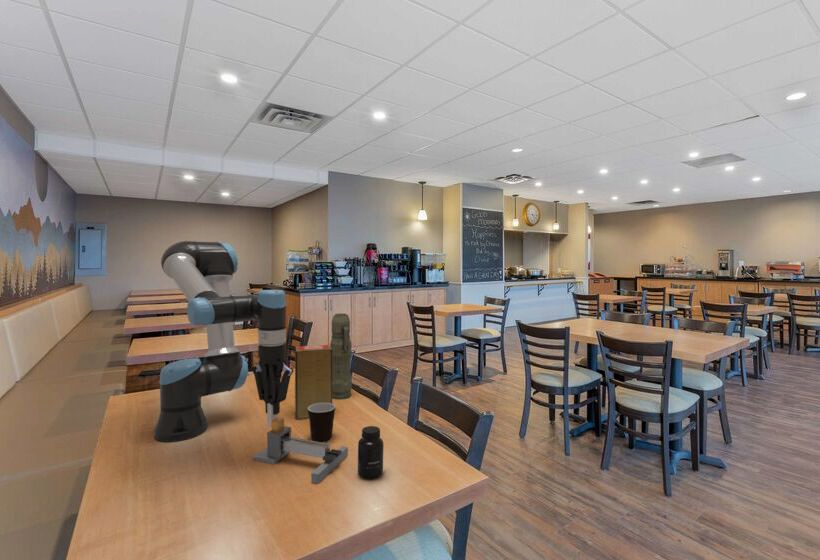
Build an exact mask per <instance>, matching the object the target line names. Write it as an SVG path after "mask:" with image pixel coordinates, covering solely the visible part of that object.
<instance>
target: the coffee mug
mask: <svg viewBox="0 0 820 560" xmlns="http://www.w3.org/2000/svg"><path fill="white" fill-rule="evenodd" d="M335 413H336V405H335V404H333V403H332V404H331V403H317V404H313V405H311V406H309V407H308V414H309V418H308V420H309V428H310V431H309V432H310V436H311V437H310V438H311V439H310V440H311V441H317V442H322V443H327V442H329V441H330V440H331V439H333V438H332V437H333V430H334V421H335Z"/></svg>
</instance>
